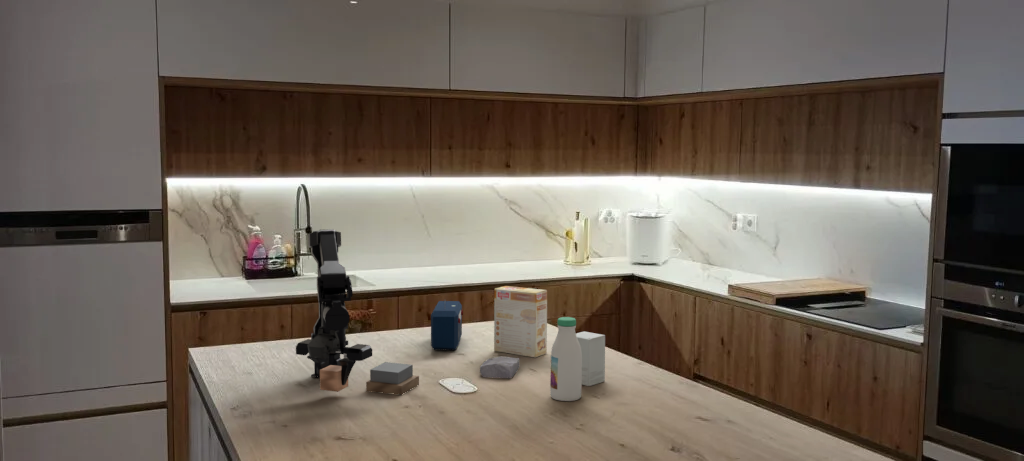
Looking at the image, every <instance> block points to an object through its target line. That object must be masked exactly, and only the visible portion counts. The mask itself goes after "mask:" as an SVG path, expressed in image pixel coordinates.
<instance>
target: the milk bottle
mask: <svg viewBox="0 0 1024 461" xmlns="http://www.w3.org/2000/svg"><path fill="white" fill-rule="evenodd" d="M556 324H557V328H558V330H557V334H556V336H555V339H554V341H553V344H552V347H551V351H550V353H551V354H550V379H549V380H550V381H549V382H550V386H549V388H550V390H549V391H550V394H549V395H550V398H551V399H553V400H556V401H562V402H574V401H577V400H580V399H581V397H582V384H581V383H582V353H581V347H580V344H579V341H578V339H577V336H576V327H577V319H576V318H575V317H572V316H571V317H570V316H561V317H559V318H557V322H556Z"/></svg>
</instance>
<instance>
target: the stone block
mask: <svg viewBox="0 0 1024 461" xmlns="http://www.w3.org/2000/svg"><path fill="white" fill-rule="evenodd" d="M519 369H520V357H517V358H516V357H511V356H496V357H491V358H487V359H486V360H485V361H484V362H482V364H481V365H480V367H479V373H480V375H481V377H484V378H489V377H490V378H492V377H493V378H492V379H495V378H496V379H497V378H498V379H512V378H513V377H514V375H515V374H516V373H517V372H518V370H519ZM490 378H489V379H490Z"/></svg>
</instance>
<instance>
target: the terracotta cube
mask: <svg viewBox="0 0 1024 461" xmlns="http://www.w3.org/2000/svg"><path fill="white" fill-rule="evenodd" d="M341 367H342V366H336V365H330V366H327V367H325V368H323V369H320V378H319V390H321V391H327V392H328V391H329V392H335V393H336V392H340V391H343V389H347V388H348V387H349V378H348V379H347V382H346V384H345V385H342V381H341Z"/></svg>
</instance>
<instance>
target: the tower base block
mask: <svg viewBox="0 0 1024 461" xmlns="http://www.w3.org/2000/svg"><path fill="white" fill-rule="evenodd" d="M365 382H366V383H365V385H366V386H365V387H366V388H365V391H366V392H369V391H370V392H371V391H372V392H371V393H378V392H383V393H382V394H387V393H394V394H393V395H395V394H401V395H400V396H403V395H404V394H403V393H405V392H406V393H408V392H409V390H410V389H411V390H413V389H414V387H415V388H416V387H418V386H420V376H419V375H414V374H413V376H412V377H410V378H408V379H407V380H405V381H403V382H402V383H400V384H391V383H382V382H373V381H370V380H367V381H365ZM417 385H418V386H417ZM412 388H413V389H412ZM411 390H410V391H411ZM407 391H408V392H407ZM406 393H405V394H406ZM402 394H403V395H402Z"/></svg>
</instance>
